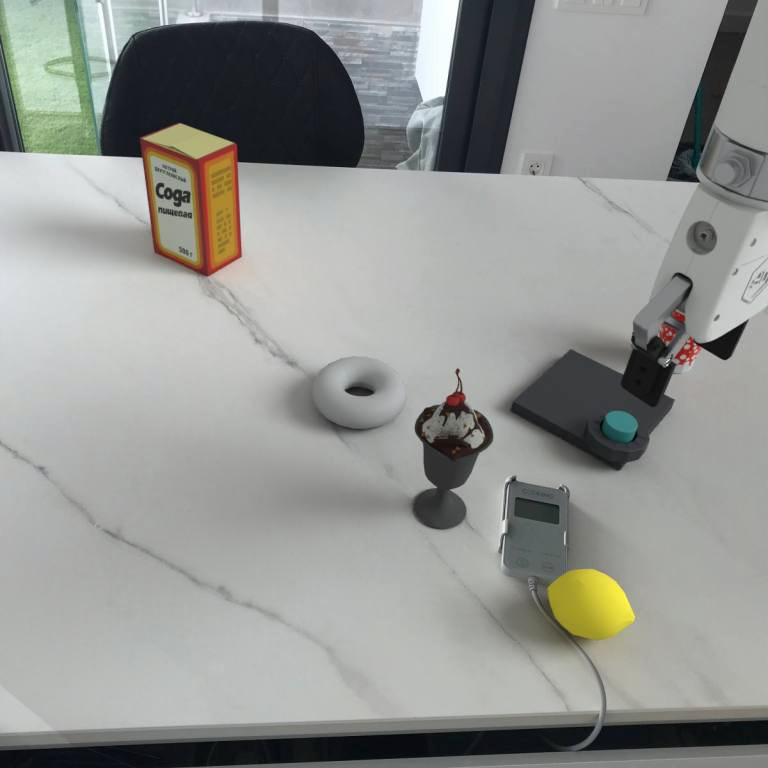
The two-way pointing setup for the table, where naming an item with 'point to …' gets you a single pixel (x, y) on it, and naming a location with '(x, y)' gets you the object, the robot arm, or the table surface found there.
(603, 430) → the button
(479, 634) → the table surface
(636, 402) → the scale
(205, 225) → the baking soda box
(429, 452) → the sundae
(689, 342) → the beverage cup
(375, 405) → the donut
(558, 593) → the lemon
